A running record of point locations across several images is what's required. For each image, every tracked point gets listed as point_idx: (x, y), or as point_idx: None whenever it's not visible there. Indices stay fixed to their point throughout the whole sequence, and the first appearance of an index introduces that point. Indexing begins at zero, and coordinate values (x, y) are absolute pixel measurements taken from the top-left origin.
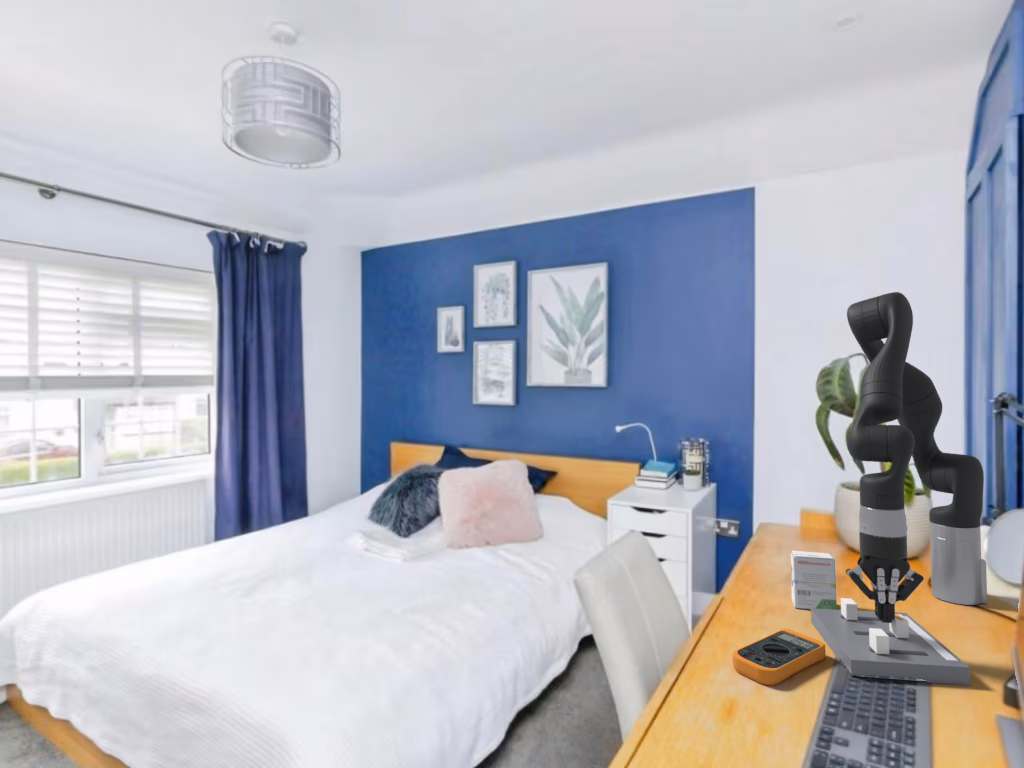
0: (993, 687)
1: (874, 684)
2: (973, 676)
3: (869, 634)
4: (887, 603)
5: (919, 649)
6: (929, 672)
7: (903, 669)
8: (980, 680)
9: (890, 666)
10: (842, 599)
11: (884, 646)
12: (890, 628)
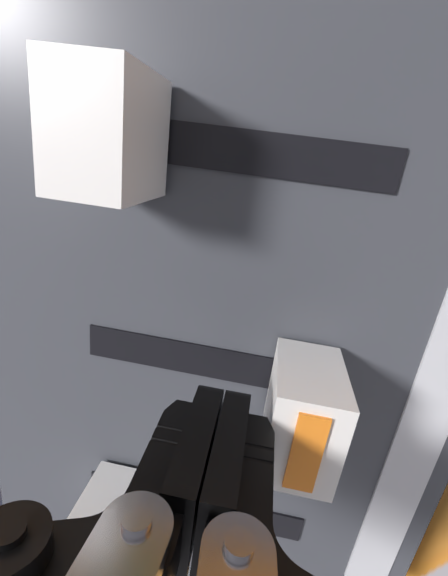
0: (438, 563)
1: None
2: (435, 511)
3: (74, 508)
4: (196, 574)
5: (299, 496)
6: None
7: None
8: (435, 531)
9: None
10: (33, 81)
11: None
12: (275, 357)
